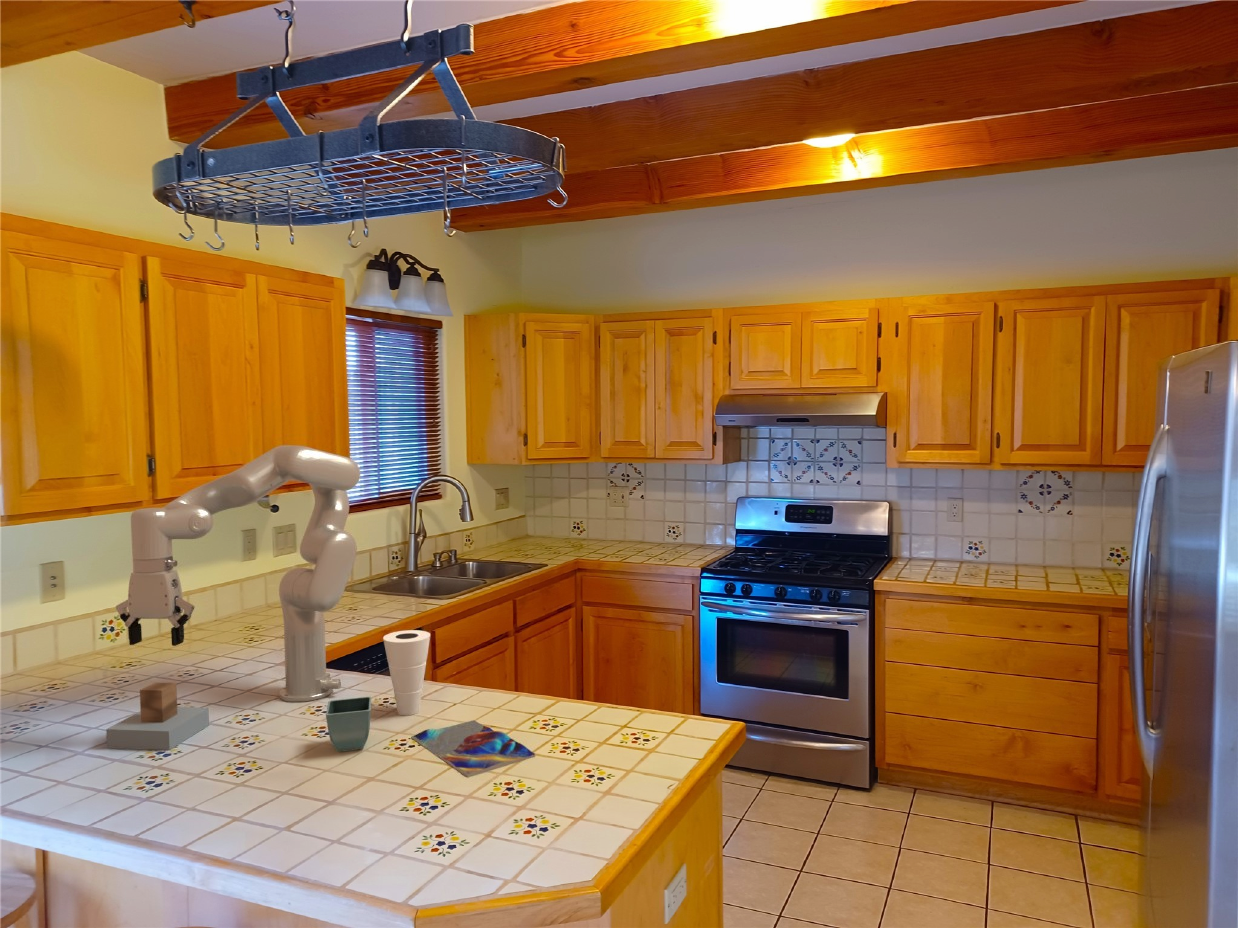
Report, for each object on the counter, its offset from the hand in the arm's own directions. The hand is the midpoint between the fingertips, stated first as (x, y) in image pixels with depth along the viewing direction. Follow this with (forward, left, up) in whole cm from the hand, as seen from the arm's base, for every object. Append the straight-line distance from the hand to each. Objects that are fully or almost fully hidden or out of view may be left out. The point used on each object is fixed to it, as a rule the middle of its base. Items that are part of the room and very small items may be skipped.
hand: (156, 643), depth 181 cm
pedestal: (0, 0, -20) cm, 20 cm away
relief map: (-69, 0, -21) cm, 73 cm away
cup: (-49, -19, -21) cm, 56 cm away
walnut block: (0, 0, -16) cm, 16 cm away
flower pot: (-44, +2, -21) cm, 49 cm away
